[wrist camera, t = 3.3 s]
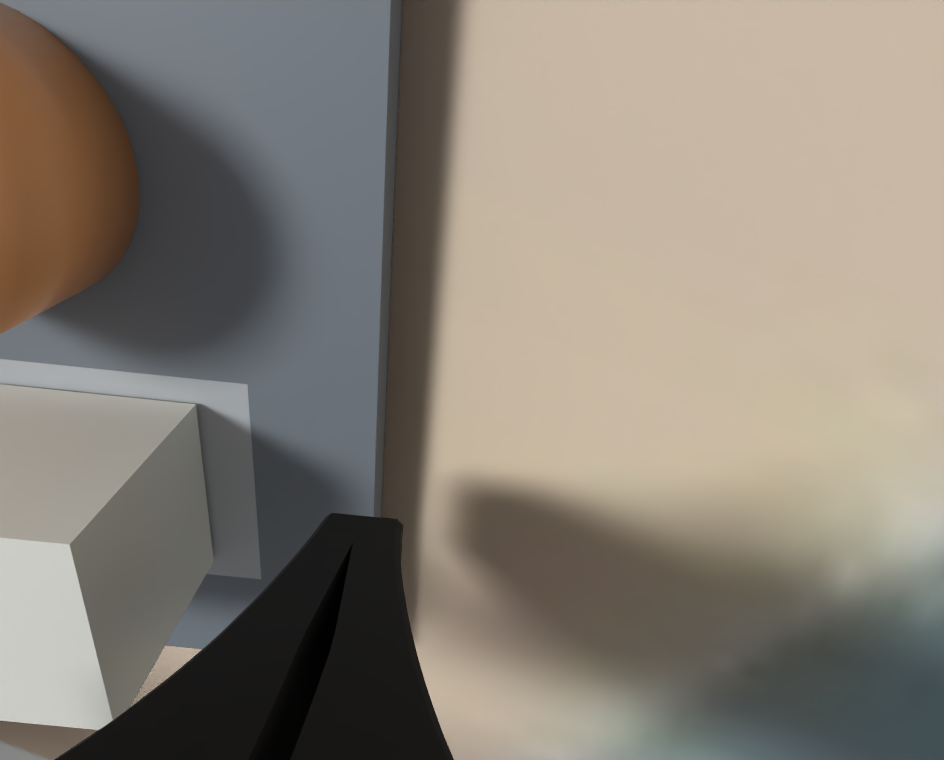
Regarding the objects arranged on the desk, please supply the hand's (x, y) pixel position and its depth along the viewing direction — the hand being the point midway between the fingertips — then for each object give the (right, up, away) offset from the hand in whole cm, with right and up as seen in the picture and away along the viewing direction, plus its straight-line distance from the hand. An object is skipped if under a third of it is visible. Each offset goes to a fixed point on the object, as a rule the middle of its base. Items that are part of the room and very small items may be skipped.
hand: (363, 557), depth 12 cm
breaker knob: (-6, +1, +1) cm, 6 cm away
